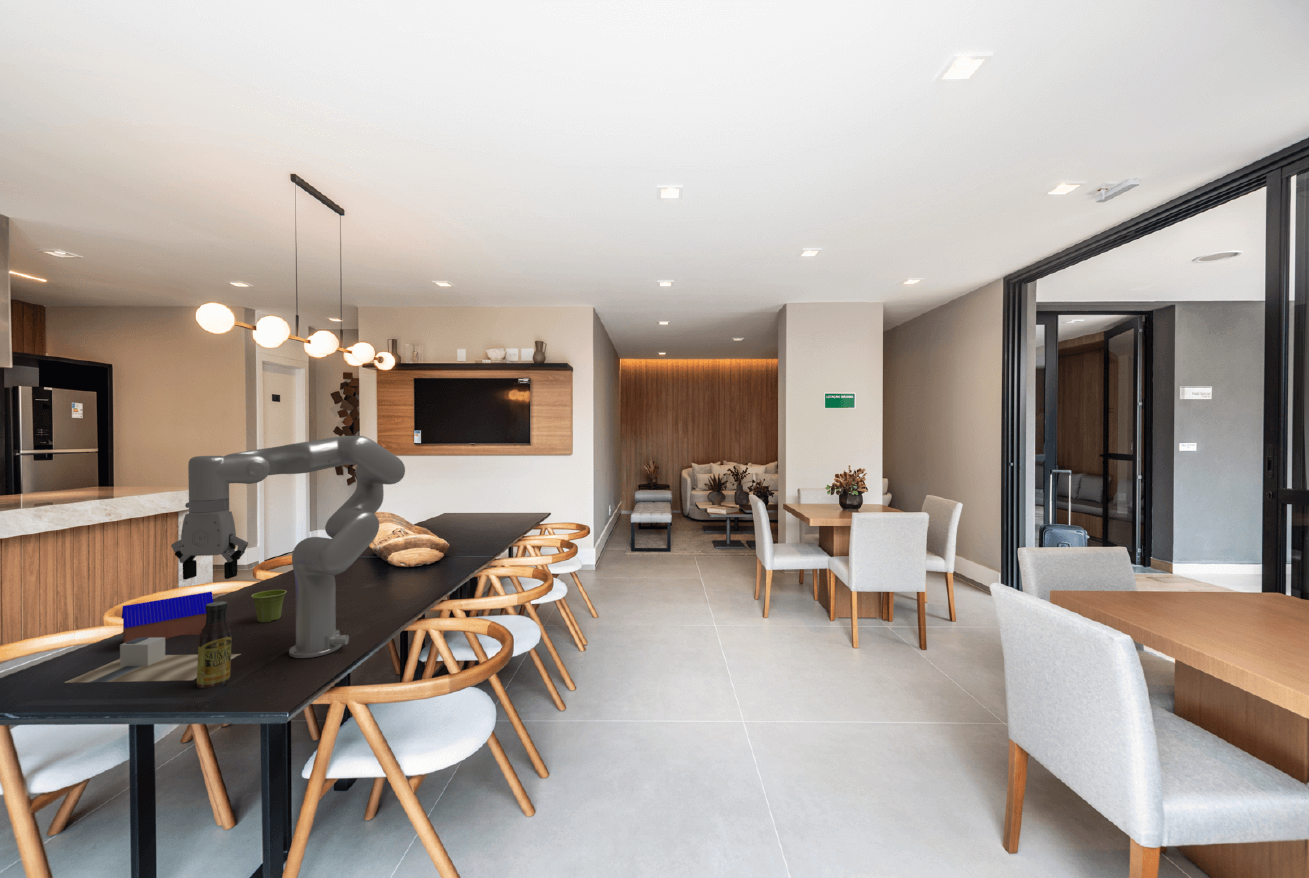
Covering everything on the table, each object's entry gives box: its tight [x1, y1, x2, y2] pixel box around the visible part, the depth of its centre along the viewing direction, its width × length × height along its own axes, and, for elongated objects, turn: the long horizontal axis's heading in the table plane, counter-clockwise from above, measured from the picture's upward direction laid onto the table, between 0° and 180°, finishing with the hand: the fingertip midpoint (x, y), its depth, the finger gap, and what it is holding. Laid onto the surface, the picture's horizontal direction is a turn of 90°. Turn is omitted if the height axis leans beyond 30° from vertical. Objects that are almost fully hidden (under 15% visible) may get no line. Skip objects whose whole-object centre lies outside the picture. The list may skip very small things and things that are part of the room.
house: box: [121, 591, 214, 644], centre depth 162 cm, size 12×20×12 cm, turn 137°
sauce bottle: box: [196, 601, 232, 689], centre depth 129 cm, size 6×6×20 cm
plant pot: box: [251, 589, 288, 623], centre depth 177 cm, size 9×9×9 cm
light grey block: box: [119, 637, 166, 666], centre depth 140 cm, size 7×5×6 cm
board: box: [63, 653, 241, 684], centre depth 137 cm, size 30×16×1 cm, turn 92°
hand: (210, 577), depth 129 cm, fingers open, 9 cm apart
